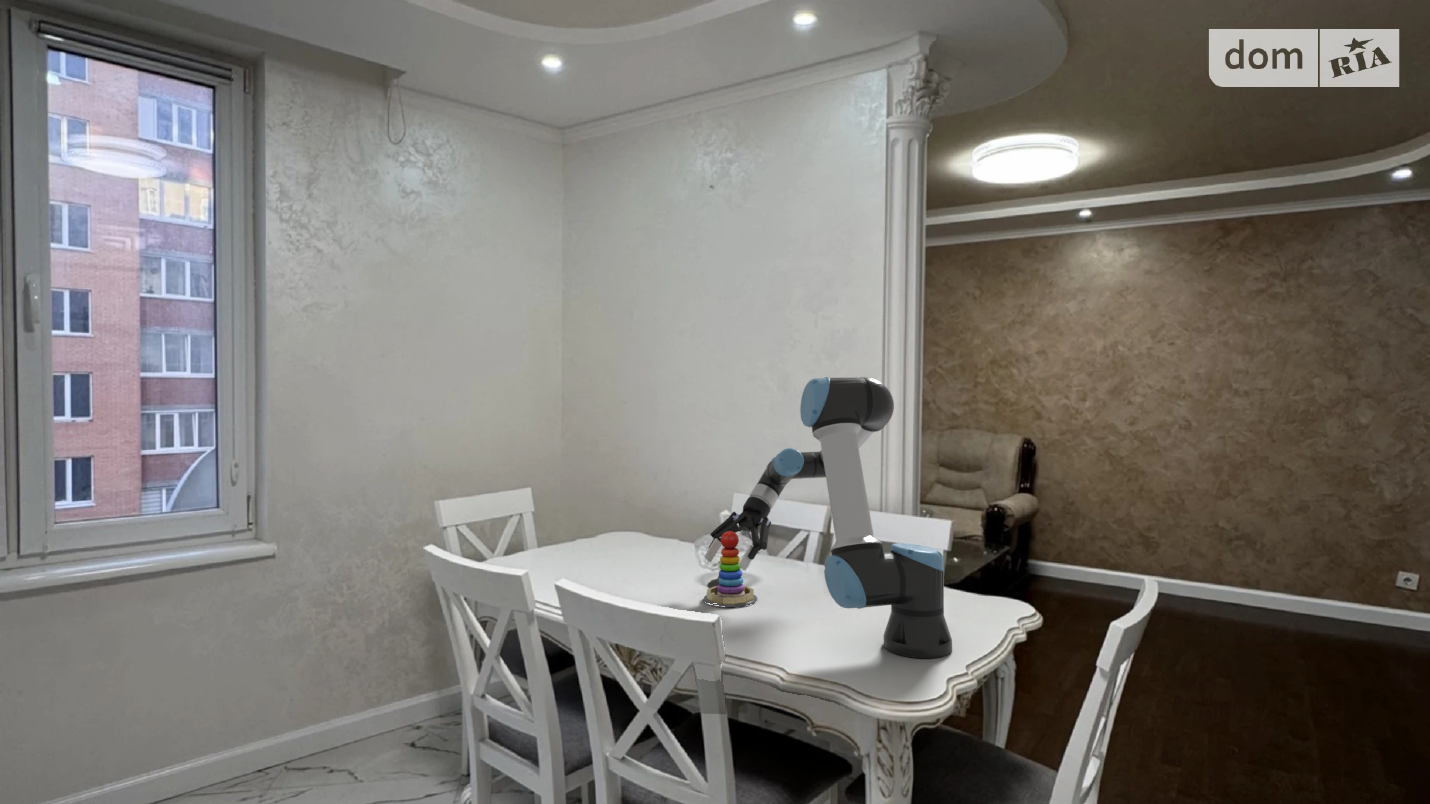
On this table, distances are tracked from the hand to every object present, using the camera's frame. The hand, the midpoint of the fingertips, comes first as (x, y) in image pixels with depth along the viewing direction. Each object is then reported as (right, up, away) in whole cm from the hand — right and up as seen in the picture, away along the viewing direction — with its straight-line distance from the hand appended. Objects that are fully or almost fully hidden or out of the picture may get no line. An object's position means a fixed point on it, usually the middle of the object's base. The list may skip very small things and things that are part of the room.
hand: (724, 563), depth 211 cm
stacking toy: (+2, -10, +2) cm, 11 cm away
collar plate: (+2, -11, +2) cm, 11 cm away
